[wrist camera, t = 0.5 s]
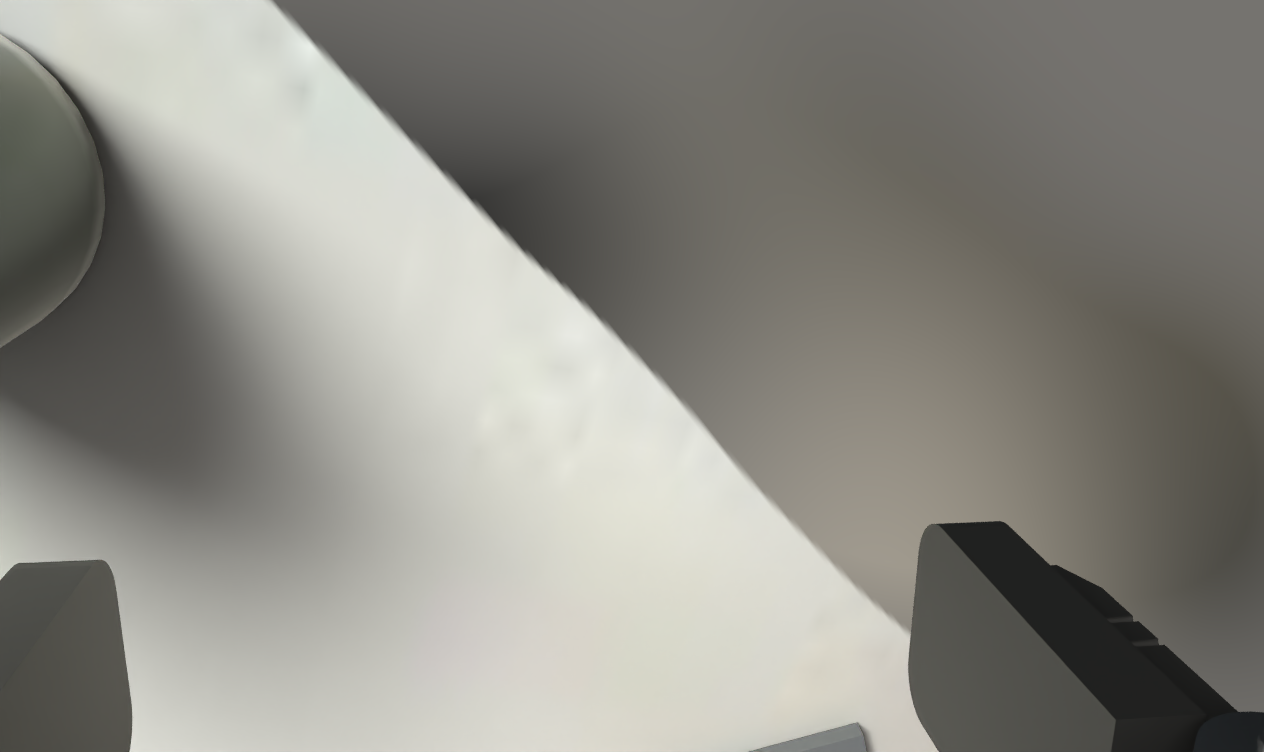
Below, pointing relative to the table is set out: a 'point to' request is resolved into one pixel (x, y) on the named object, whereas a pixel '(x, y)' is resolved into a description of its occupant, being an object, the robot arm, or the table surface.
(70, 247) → the beer bottle
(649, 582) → the table surface
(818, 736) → the slate board
